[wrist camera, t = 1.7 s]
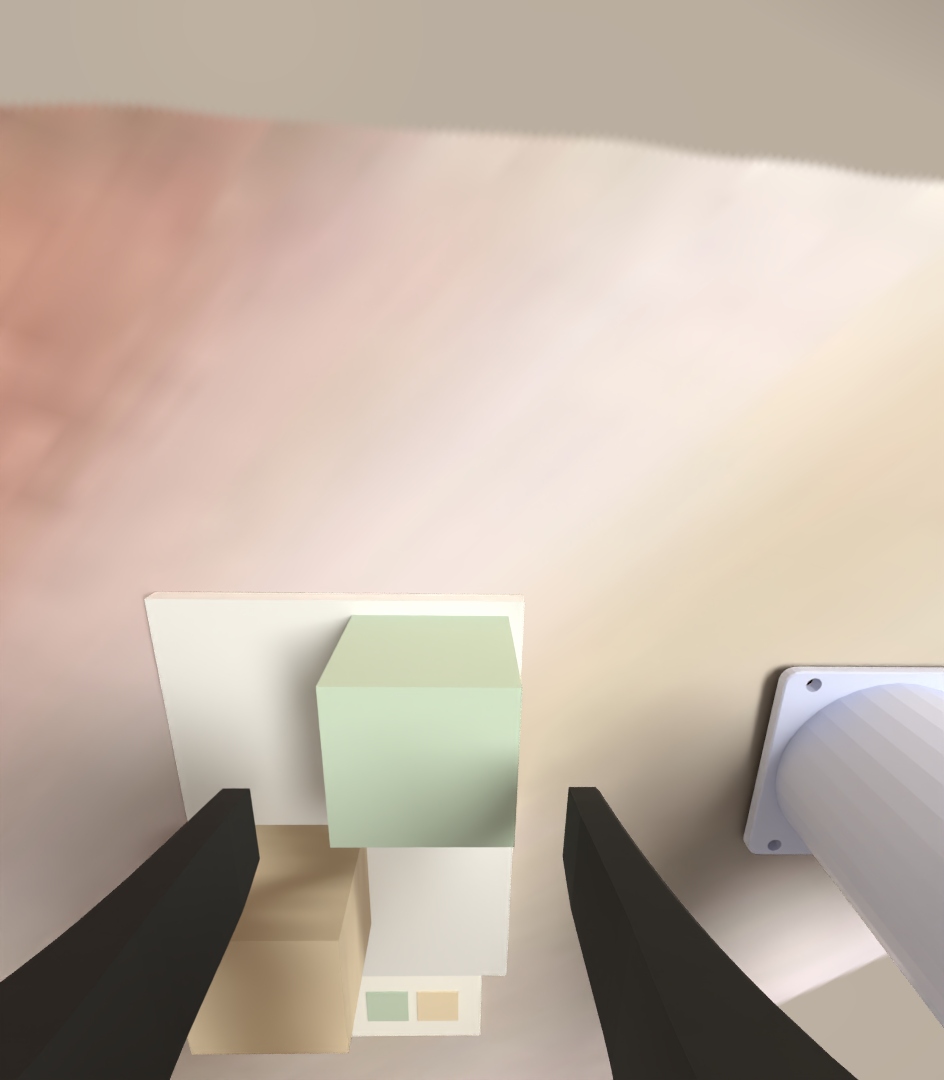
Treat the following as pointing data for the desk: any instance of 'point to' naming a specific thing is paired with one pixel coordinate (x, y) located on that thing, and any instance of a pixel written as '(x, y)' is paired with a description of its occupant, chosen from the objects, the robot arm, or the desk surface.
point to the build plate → (296, 757)
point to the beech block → (292, 951)
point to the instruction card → (418, 1006)
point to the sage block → (421, 732)
